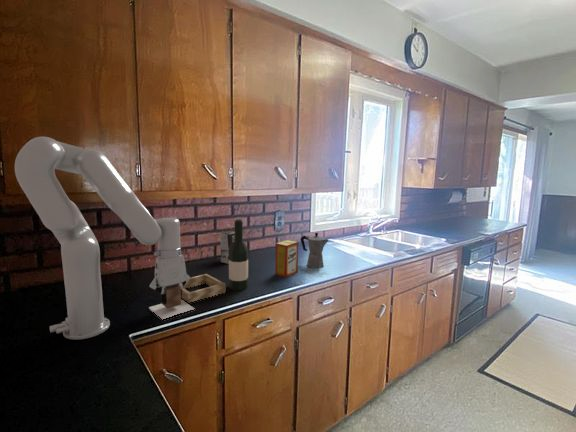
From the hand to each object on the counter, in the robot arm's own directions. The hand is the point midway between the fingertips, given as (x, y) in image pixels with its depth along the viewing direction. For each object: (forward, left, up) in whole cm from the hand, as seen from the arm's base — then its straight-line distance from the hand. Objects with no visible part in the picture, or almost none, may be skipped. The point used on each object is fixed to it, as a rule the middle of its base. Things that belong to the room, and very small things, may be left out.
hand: (171, 300), depth 116 cm
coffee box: (+49, +35, -4) cm, 60 cm away
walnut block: (0, 0, -2) cm, 2 cm away
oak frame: (+15, +8, -4) cm, 17 cm away
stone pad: (0, 0, -4) cm, 4 cm away
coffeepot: (+79, +1, -4) cm, 79 cm away
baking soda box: (+59, +1, -4) cm, 59 cm away
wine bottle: (+31, +2, -4) cm, 31 cm away
